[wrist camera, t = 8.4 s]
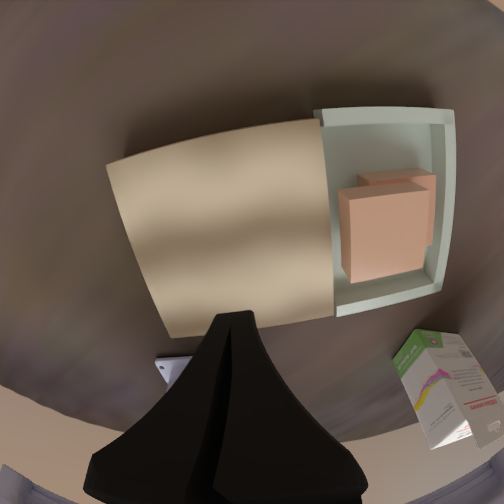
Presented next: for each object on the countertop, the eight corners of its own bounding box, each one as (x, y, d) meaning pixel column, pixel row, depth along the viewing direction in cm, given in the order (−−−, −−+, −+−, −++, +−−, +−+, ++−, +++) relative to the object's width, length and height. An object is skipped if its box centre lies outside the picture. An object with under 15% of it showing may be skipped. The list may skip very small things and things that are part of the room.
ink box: (388, 361, 26) (435, 479, 13) (414, 326, 24) (479, 449, 10) (436, 362, 27) (483, 456, 14) (460, 333, 25) (518, 427, 12)
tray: (428, 276, 21) (441, 290, 19) (329, 299, 21) (336, 316, 20) (435, 108, 15) (453, 110, 13) (312, 110, 15) (321, 109, 13)
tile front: (408, 253, 17) (422, 267, 15) (341, 266, 17) (350, 283, 15) (411, 181, 15) (429, 190, 13) (337, 189, 15) (349, 199, 13)
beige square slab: (325, 294, 21) (333, 315, 19) (177, 317, 22) (170, 338, 20) (308, 118, 15) (319, 118, 13) (122, 158, 16) (105, 165, 14)
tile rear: (418, 233, 18) (431, 244, 17) (359, 244, 19) (370, 257, 17) (419, 167, 16) (436, 174, 14) (357, 174, 16) (369, 181, 15)
